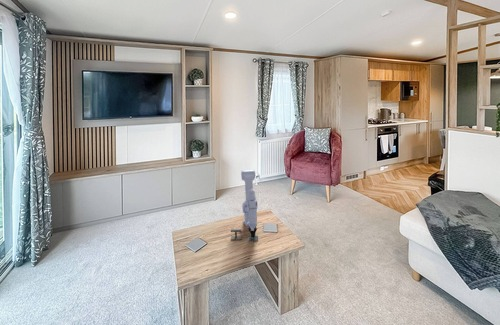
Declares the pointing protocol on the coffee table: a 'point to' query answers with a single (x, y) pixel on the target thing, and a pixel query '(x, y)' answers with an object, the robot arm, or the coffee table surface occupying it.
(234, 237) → the stand
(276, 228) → the coffee table surface
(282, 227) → the coffee table surface
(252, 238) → the mat
